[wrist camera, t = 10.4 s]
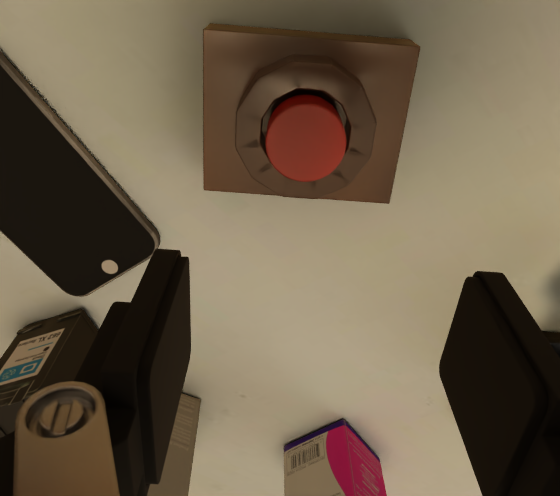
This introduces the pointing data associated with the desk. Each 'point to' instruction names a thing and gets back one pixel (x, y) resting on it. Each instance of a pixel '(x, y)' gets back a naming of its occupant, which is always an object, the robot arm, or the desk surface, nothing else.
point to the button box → (297, 81)
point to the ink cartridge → (42, 360)
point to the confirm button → (305, 138)
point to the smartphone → (62, 197)
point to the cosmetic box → (179, 451)
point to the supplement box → (332, 465)
